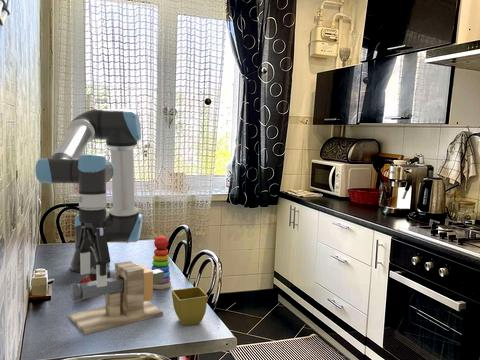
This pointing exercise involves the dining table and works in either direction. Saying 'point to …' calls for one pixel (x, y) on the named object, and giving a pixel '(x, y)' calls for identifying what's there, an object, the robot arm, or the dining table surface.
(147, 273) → the collar
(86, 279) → the onion
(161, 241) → the stacking toy
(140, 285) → the stand
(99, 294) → the shaft
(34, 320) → the dining table surface
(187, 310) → the flower pot
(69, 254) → the dining table surface
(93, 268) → the mate gourd
